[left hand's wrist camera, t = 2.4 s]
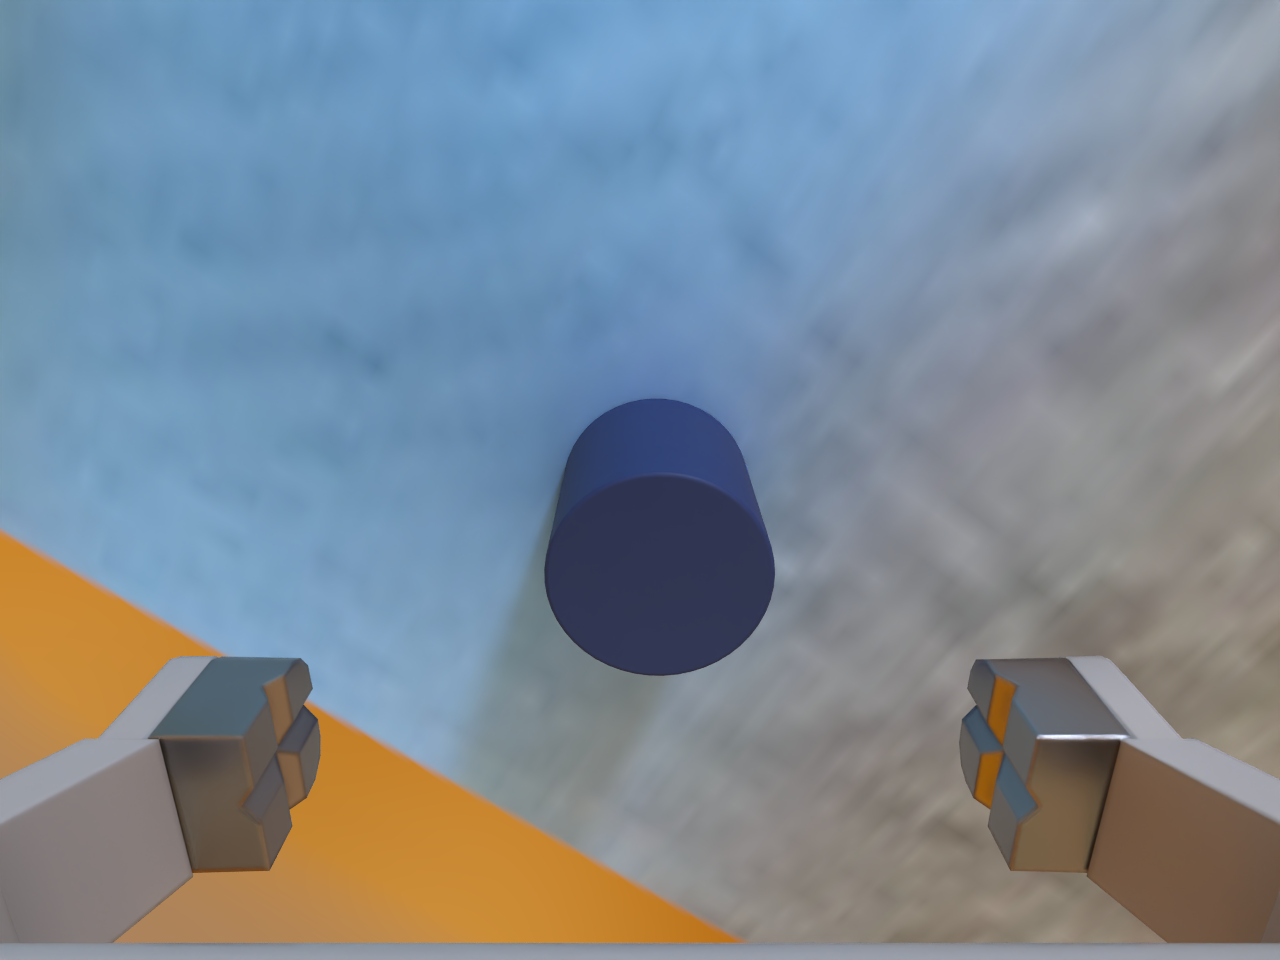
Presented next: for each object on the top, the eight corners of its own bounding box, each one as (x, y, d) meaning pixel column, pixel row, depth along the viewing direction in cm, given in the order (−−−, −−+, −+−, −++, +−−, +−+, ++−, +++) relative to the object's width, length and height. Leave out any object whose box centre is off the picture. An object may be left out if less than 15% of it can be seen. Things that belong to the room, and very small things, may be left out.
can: (559, 559, 22) (538, 668, 17) (569, 389, 20) (549, 462, 15) (734, 573, 22) (758, 685, 17) (758, 406, 20) (792, 482, 16)
